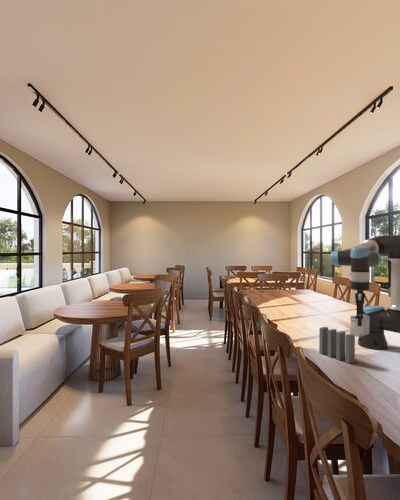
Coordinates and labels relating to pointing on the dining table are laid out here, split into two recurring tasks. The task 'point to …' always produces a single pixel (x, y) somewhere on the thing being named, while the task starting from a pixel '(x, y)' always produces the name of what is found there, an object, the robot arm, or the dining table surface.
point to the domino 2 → (332, 342)
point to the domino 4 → (350, 349)
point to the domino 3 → (340, 345)
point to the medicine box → (365, 326)
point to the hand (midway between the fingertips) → (360, 330)
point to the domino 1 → (323, 340)
